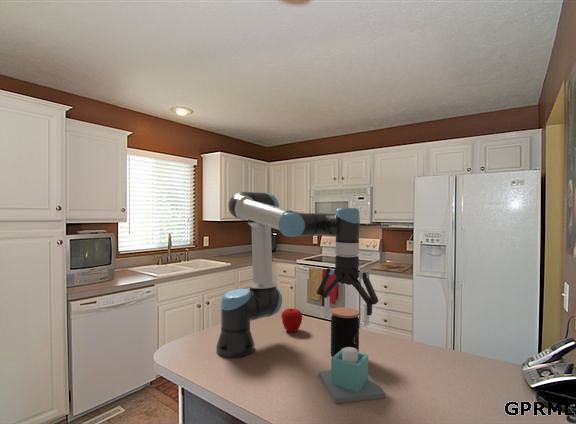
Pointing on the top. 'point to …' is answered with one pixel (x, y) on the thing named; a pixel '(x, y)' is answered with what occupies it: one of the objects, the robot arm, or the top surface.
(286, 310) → the apple
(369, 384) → the grey square base plate
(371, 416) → the top surface
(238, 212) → the robot arm
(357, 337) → the coffee jar
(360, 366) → the teal storage bin
